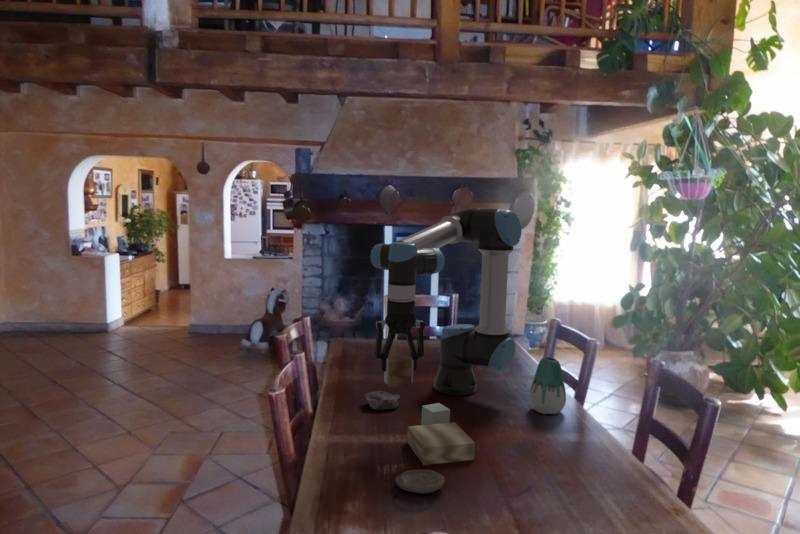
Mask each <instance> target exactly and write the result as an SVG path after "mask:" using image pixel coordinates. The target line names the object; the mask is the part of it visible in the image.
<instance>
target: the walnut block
mask: <svg viewBox="0 0 800 534" xmlns="http://www.w3.org/2000/svg"><path fill="white" fill-rule="evenodd" d="M387 358H388V360H389V384H387V386H388V387H389V388H403V387H404V388H405V387H412V383H411V379H412V361H411V359H410V358H409V356H408V355H404V354H403V355H388V357H387Z"/></svg>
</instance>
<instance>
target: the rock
mask: <svg viewBox="0 0 800 534" xmlns="http://www.w3.org/2000/svg"><path fill="white" fill-rule="evenodd" d="M364 397H365V401H366V402H367V405H368V406H369V407H370V409H371V410H375V411H379V410H380V411H382V410H384V411H385V410H393V409H397V408H398V406H400V402H401V396H400V395H399V394H392V393H390V392H387V391H384V390H375V391H368V392H366V393H365V395H364Z"/></svg>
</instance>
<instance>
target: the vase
mask: <svg viewBox="0 0 800 534" xmlns="http://www.w3.org/2000/svg"><path fill="white" fill-rule="evenodd" d="M528 401H529V404H530V406H531V408H532V409H533V411H535V412H537V413H538V412H539V413H538V414H541V413H542V414H541V415H546V414H554V415H557V414H559V413H561V412H562V411H563V409H564V408H565V406H566V403H567V393H566V385H565V382H564V378H563V370H562V365H561V363H560V362H559V360H558V359H556V358H554V357H551V356H543V357H541V359H540V360H539V362H538V364H537V367H536V369H535V373H534V376H533V379H532V382H531V385H530V388H529V393H528Z"/></svg>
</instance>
